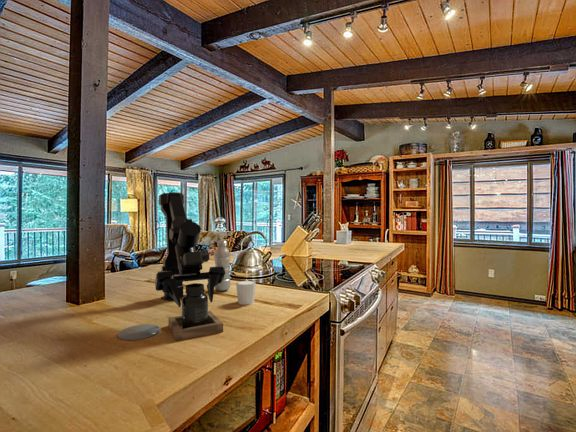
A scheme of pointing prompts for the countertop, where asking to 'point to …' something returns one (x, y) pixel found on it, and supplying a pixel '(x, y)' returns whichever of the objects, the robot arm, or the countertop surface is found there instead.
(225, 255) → the plastic bottle
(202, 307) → the supplement bottle
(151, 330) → the slate coaster
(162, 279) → the robot arm
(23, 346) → the countertop surface
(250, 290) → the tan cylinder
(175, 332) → the brown flat square frame
